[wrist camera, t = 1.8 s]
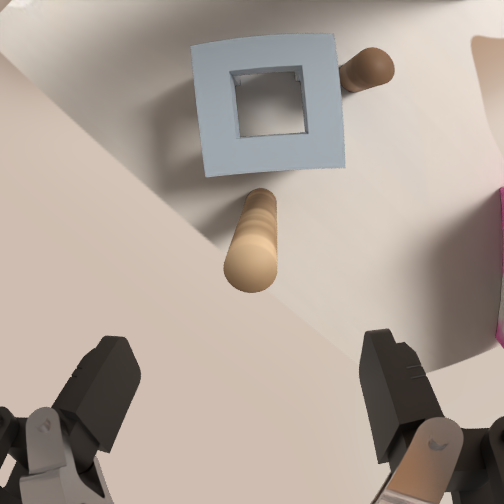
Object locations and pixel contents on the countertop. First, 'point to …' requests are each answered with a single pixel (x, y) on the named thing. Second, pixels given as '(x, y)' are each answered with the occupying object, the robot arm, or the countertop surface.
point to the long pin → (254, 244)
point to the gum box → (503, 318)
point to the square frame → (278, 145)
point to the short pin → (366, 70)
